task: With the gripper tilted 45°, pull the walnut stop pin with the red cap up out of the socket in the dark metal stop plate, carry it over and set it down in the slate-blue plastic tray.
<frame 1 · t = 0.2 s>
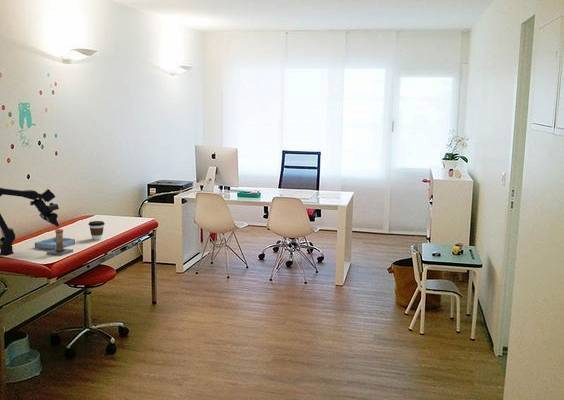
hand: (56, 225, 360), 15 cm above the table, tool tilted 35°, fingers open, 9 cm apart
stop pin: (59, 241, 346), in the stop plate
pin tray: (55, 245, 365), on the table
coffee cup: (97, 239, 389), on the table
stop plate: (60, 252, 347), on the table
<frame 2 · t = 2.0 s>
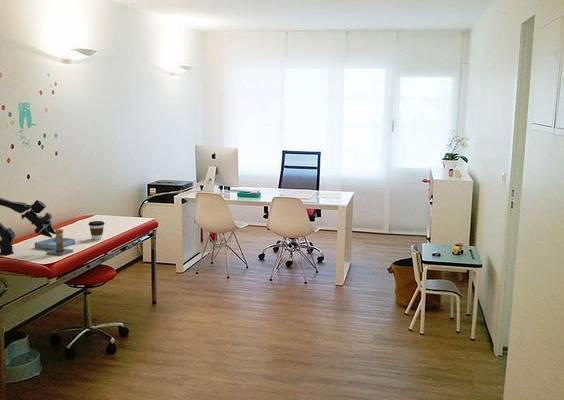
hand: (53, 235, 345), 11 cm above the table, tool tilted 45°, fingers open, 9 cm apart
nothing on the table moved.
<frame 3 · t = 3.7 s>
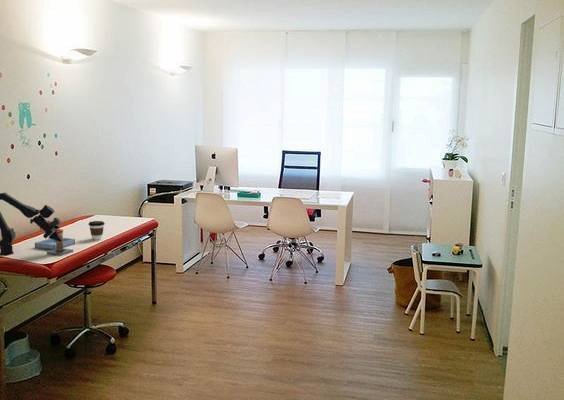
hand: (61, 240, 346), 8 cm above the table, tool tilted 45°, fingers closed on stop pin, 4 cm apart
stop pin: (59, 241, 346), in the stop plate, touching gripper
everything else where it was.
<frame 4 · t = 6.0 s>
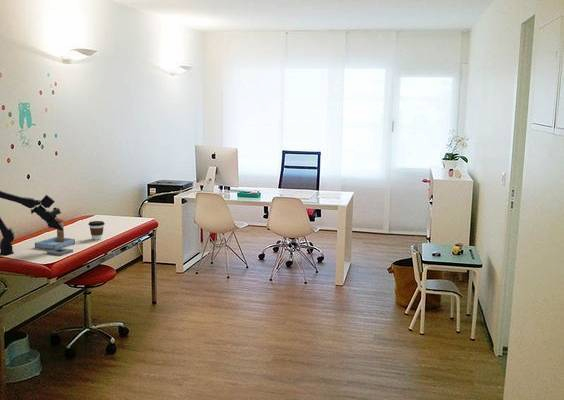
hand: (62, 229, 353), 13 cm above the table, tool tilted 45°, fingers closed on stop pin, 4 cm apart
stop pin: (60, 230, 353), point 13 cm above the table, touching gripper
everything else where it was.
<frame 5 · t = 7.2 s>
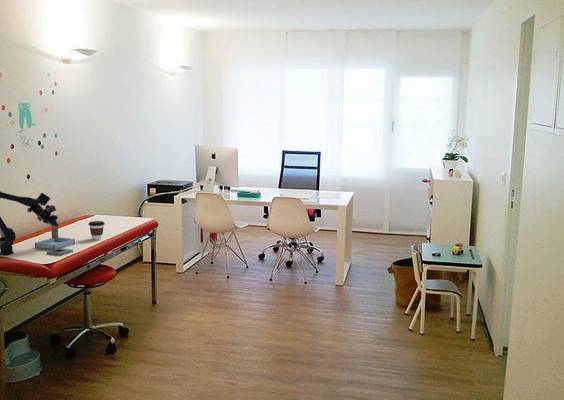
hand: (56, 225, 364), 13 cm above the table, tool tilted 45°, fingers closed on stop pin, 4 cm apart
stop pin: (54, 226, 363), point 13 cm above the table, touching gripper
everything else where it was.
when the fingers open (10 cm above the table, at t = 8.2 s): stop pin drops 1 cm, resting on pin tray.
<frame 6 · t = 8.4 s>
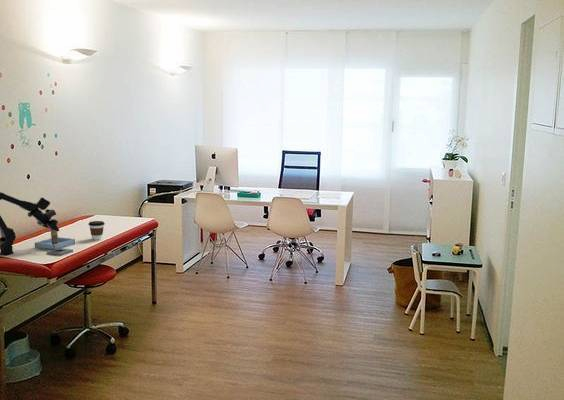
hand: (56, 230, 365), 11 cm above the table, tool tilted 45°, fingers open, 6 cm apart
stop pin: (54, 233, 364), in the pin tray, point 8 cm above the table
everything else where it was.
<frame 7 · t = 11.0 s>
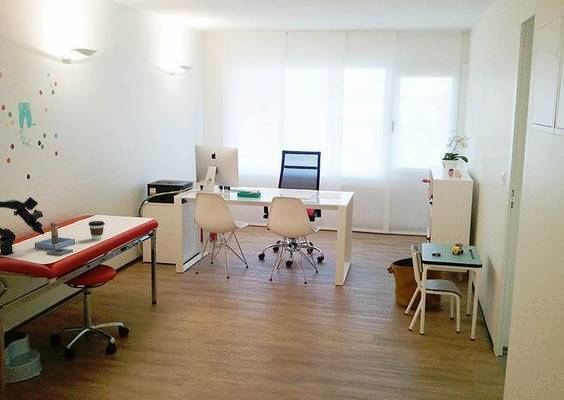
hand: (41, 232, 358), 11 cm above the table, tool tilted 40°, fingers open, 9 cm apart
nothing on the table moved.
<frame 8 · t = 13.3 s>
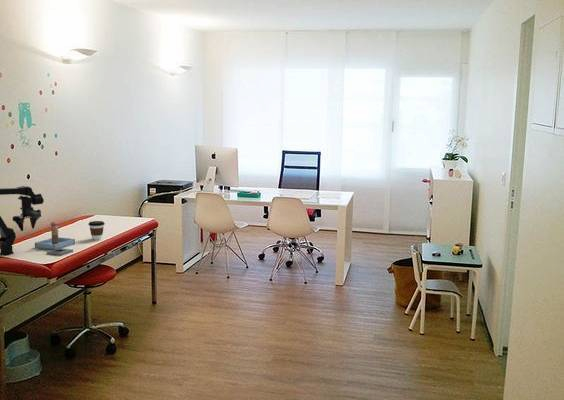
hand: (27, 229, 352), 13 cm above the table, tool pointing down, fingers open, 9 cm apart
nothing on the table moved.
at the end: stop pin inside the target area on the pin tray (0.0 cm from its centre), point 8.3 cm above the pin tray's base; the gripper is holding nothing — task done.
